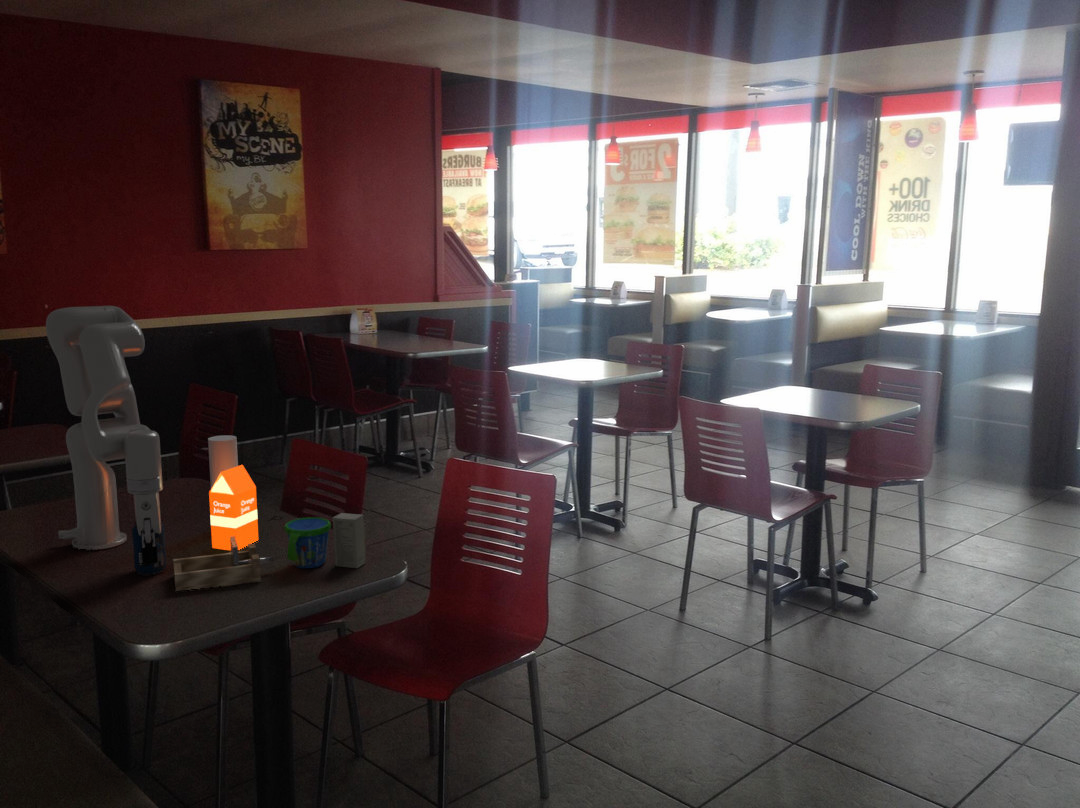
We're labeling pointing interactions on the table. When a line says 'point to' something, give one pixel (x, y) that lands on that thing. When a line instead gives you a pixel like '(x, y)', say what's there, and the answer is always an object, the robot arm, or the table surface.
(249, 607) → the table surface
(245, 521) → the orange juice
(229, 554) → the wooden tray
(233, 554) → the follower
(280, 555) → the table surface
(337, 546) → the skincare box
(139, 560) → the soda can
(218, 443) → the cylindrical container
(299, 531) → the snack cup
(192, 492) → the table surface
